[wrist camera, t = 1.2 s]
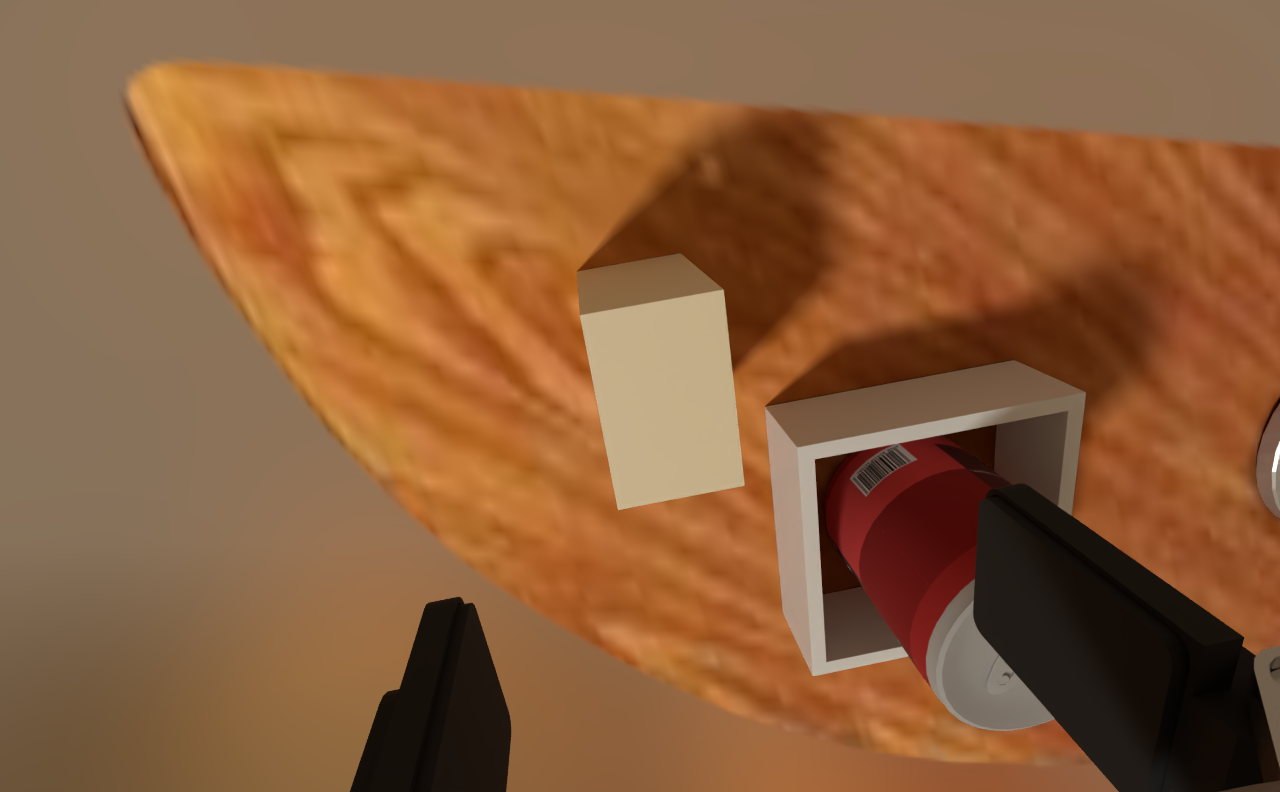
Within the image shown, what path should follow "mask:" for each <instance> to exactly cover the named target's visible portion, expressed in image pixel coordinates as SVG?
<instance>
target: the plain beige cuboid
mask: <svg viewBox="0 0 1280 792" xmlns="http://www.w3.org/2000/svg"><path fill="white" fill-rule="evenodd" d="M577 282H578V295H579V309H580V318H581V323H582V328H583V333H584V338H585V344H586V349H587V354H588V359H589V364H590V369H591V374H592V379H593V384H594V390H595V395H596V400H597V405H598V410H599V415H600V420H601V425H602V430H603V436H604V441H605V446H606V451H607V456H608V461H609V466H610V471H611V476H612V482H613V487H614V492H615V497H616V502H617V507H618V510H620V509H626V508H631V507H636V506H641V505H646V504H652V503H657V502H662V501H667V500H672V499H677V498H683V497H688V496H693V495H698V494H703V493H709V492H714V491H719V490H724V489H729V488H735V487H740V486H744V476H743V467H742V457H741V448H740V438H739V429H738V420H737V410H736V401H735V391H734V382H733V372H732V363H731V354H730V344H729V335H728V325H727V316H726V307H725V297H724V289H722V288H721V287H720V286H719V285H718V284H716V283H715V282H714V281H713V280H712V279H711V278H709V277H708V276H707V275H706V274H705V273H703V272H702V271H701V270H700V269H699V268H697V267H696V266H695V265H694V264H693V263H692V262H690V261H689V260H688V259H687V258H686V257H684V256H683V255H682V254H681V253H679V254H673V255H667V256H662V257H656V258H650V259H645V260H639V261H633V262H628V263H622V264H616V265H610V266H605V267H599V268H593V269H588V270H582V271H577Z"/></svg>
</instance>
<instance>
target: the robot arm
mask: <svg viewBox="0 0 1280 792" xmlns="http://www.w3.org/2000/svg"><path fill="white" fill-rule="evenodd" d="M1256 477H1257V484H1258V490H1259V493H1260V495H1261V497H1262V499H1263V502H1264V504H1265V505H1266V506H1267V507H1268V509H1269V510H1270V511H1271V512H1272V513H1273V514H1274V515H1275V516H1276V517H1278V518H1279V519H1280V403H1279V405H1278V406H1277V408H1276V409H1275V411H1274V412H1273V414H1272V416H1271V418H1270V420H1269V423H1268V425H1267V427H1266V429H1265V431H1264V433H1263V436H1262V440H1261V443H1260V447H1259V450H1258V454H1257V466H1256ZM973 618H974V622H975V624H976V627H977V629H978V631H979V632H980V634H981V635H982V636H983V637H984V639H985V640H986V641H987V642H988V643H989V644H990V645H991V646H992V648H993V649H994V650H995V651H996V652H997V653H998V654H999V656H1000V657H1001V658H1002V659H1003V660H1004V661H1005V662H1006V664H1007V665H1008V666H1009V667H1010V668H1011V669H1012V670H1013V672H1014V673H1015V674H1016V675H1017V676H1018V677H1019V678H1020V680H1021V681H1022V682H1023V683H1024V684H1025V685H1026V686H1027V688H1028V689H1029V690H1030V691H1031V692H1032V693H1033V694H1034V695H1035V697H1036V698H1037V699H1038V700H1039V701H1040V702H1041V703H1042V705H1043V706H1044V707H1045V708H1046V709H1047V710H1048V711H1049V713H1050V714H1051V715H1052V716H1053V717H1054V718H1055V719H1056V721H1057V722H1058V723H1059V724H1060V725H1061V726H1062V727H1063V729H1064V730H1065V731H1066V732H1067V733H1068V734H1069V735H1070V737H1071V738H1072V739H1073V740H1074V741H1075V742H1076V743H1077V744H1078V746H1079V747H1080V748H1081V749H1082V750H1083V751H1084V752H1085V754H1086V755H1087V756H1088V757H1089V758H1090V759H1091V760H1092V762H1093V763H1094V764H1095V765H1096V766H1097V767H1098V768H1099V770H1100V771H1101V772H1102V773H1103V774H1104V775H1105V776H1106V777H1107V778H1108V780H1109V781H1110V782H1111V783H1112V784H1113V785H1114V787H1115V788H1116V789H1117V790H1118V791H1119V792H1280V646H1274V647H1271V648H1268V649H1264V650H1262V651H1261V652H1260V653H1259V654H1258V655H1257V656H1255V655H1254V654H1253V653H1251V652H1250V651H1248V650H1247V649H1246V648H1244V647H1243V646H1242V644H1243V640H1244V637H1243V636H1242V635H1240V634H1239V633H1237V632H1236V631H1234V630H1233V629H1232V628H1230V627H1229V626H1227V625H1226V624H1225V623H1223V622H1222V621H1220V620H1219V619H1217V618H1216V617H1215V616H1213V615H1212V614H1210V613H1209V612H1207V611H1206V610H1205V609H1203V608H1202V607H1200V606H1199V605H1198V604H1196V603H1195V602H1193V601H1192V600H1190V599H1189V598H1188V597H1186V596H1185V595H1183V594H1182V593H1180V592H1179V591H1178V590H1176V589H1175V588H1173V587H1172V586H1171V585H1169V584H1168V583H1166V582H1165V581H1163V580H1162V579H1161V578H1159V577H1158V576H1156V575H1155V574H1153V573H1152V572H1151V571H1149V570H1148V569H1146V568H1145V567H1144V566H1142V565H1141V564H1139V563H1138V562H1136V561H1135V560H1134V559H1132V558H1131V557H1129V556H1128V555H1126V554H1125V553H1124V552H1122V551H1121V550H1119V549H1118V548H1117V547H1115V546H1114V545H1112V544H1111V543H1109V542H1108V541H1107V540H1105V539H1104V538H1102V537H1101V536H1099V535H1098V534H1097V533H1095V532H1094V531H1092V530H1091V529H1089V528H1088V527H1087V526H1085V525H1084V524H1082V523H1081V522H1080V521H1078V520H1077V519H1075V518H1074V517H1072V516H1071V515H1070V514H1068V513H1067V512H1065V511H1064V510H1062V509H1061V508H1060V507H1058V506H1057V505H1055V504H1054V503H1053V502H1051V501H1050V500H1048V499H1047V498H1045V497H1044V496H1043V495H1041V494H1040V493H1038V492H1037V491H1035V490H1034V489H1033V488H1031V487H1030V486H1028V485H1026V484H1023V483H1019V484H1014V485H1009V486H1004V487H999V488H994V489H991V490H989V491H988V493H987V494H986V498H985V499H982V500H981V501H980V503H979V512H978V530H977V548H976V567H975V585H974V603H973ZM510 741H511V721H510V715H509V711H508V708H507V705H506V702H505V698H504V695H503V692H502V689H501V686H500V683H499V680H498V677H497V673H496V670H495V667H494V664H493V661H492V658H491V654H490V651H489V648H488V645H487V642H486V639H485V636H484V632H483V629H482V626H481V623H480V620H479V617H478V614H477V611H476V608H475V605H474V604H473V603H468V604H464V602H463V600H462V598H461V597H455V598H450V599H445V600H440V601H435V602H430V603H428V604H426V606H425V608H424V611H423V615H422V618H421V621H420V625H419V628H418V631H417V634H416V638H415V641H414V644H413V647H412V651H411V654H410V657H409V660H408V663H407V667H406V670H405V673H404V676H403V680H402V683H401V686H400V689H398V690H393V691H388V692H387V693H386V694H385V695H384V696H383V697H382V700H381V702H380V704H379V707H378V710H377V713H376V716H375V719H374V722H373V725H372V728H371V730H370V733H369V736H368V739H367V742H366V745H365V749H364V751H363V754H362V757H361V760H360V763H359V766H358V769H357V772H356V775H355V778H354V781H353V784H352V787H351V790H350V792H506V786H507V776H508V765H509V764H508V763H509V753H510Z"/></svg>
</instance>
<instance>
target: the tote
mask: <svg viewBox="0 0 1280 792" xmlns="http://www.w3.org/2000/svg"><path fill="white" fill-rule="evenodd" d="M1085 398H1086V392H1084V391H1082V390H1080V389H1078V388H1075V387H1073V386H1071V385H1069V384H1067V383H1064V382H1062V381H1060V380H1058V379H1055V378H1053V377H1051V376H1049V375H1047V374H1044V373H1042V372H1040V371H1038V370H1035V369H1033V368H1031V367H1029V366H1027V365H1024V364H1022V363H1020V362H1018V361H1015V360H1012V361H1006V362H1001V363H996V364H990V365H985V366H980V367H974V368H969V369H964V370H958V371H953V372H948V373H942V374H937V375H932V376H926V377H921V378H916V379H910V380H905V381H900V382H894V383H889V384H884V385H878V386H873V387H868V388H862V389H857V390H852V391H846V392H841V393H836V394H830V395H825V396H820V397H814V398H809V399H804V400H798V401H793V402H788V403H782V404H777V405H772V406H766V407H765V414H766V425H767V437H768V448H769V460H770V471H771V482H772V494H773V505H774V517H775V528H776V540H777V551H778V562H779V574H780V585H781V597H782V608H783V614H784V616H785V618H786V620H787V623H788V625H789V627H790V629H791V631H792V633H793V635H794V637H795V639H796V642H797V644H798V646H799V648H800V650H801V652H802V654H803V656H804V659H805V661H806V663H807V665H808V667H809V669H810V671H811V673H812V675H813V676H816V675H821V674H826V673H831V672H836V671H841V670H845V669H850V668H855V667H860V666H865V665H869V664H874V663H879V662H884V661H889V660H893V659H898V658H903V657H908V654H907V653H906V652H905V650H904V649H903V647H902V646H901V644H900V643H899V641H898V640H897V638H896V637H895V635H894V634H893V632H892V631H891V629H890V628H889V626H888V625H887V623H886V622H885V620H884V619H883V618H882V616H881V615H880V613H879V612H878V610H877V609H876V607H875V606H874V604H873V603H872V601H871V600H870V598H869V597H868V595H867V594H866V592H865V591H864V589H863V588H862V587H857V588H853V589H848V590H843V591H838V592H833V593H828V594H823V595H822V578H821V560H820V543H819V525H818V508H817V491H816V473H815V459H820V458H825V457H830V456H835V455H840V454H846V453H851V452H856V451H861V450H866V449H872V448H877V447H882V446H887V445H893V444H898V443H903V442H908V441H913V440H919V439H924V438H929V437H934V436H939V435H945V434H950V433H955V432H960V431H965V430H971V429H976V428H981V427H986V426H991V425H997V426H996V442H995V458H994V472H996V473H997V474H999V475H1000V476H1001V477H1003V478H1004V479H1006V480H1007V481H1008V482H1010V483H1011V484H1012V485H1014V484H1019V483H1023V484H1026V485H1028V486H1030V487H1031V488H1033V489H1034V490H1035V491H1037V492H1038V493H1040V494H1041V495H1043V496H1044V497H1045V498H1047V499H1048V500H1050V501H1051V502H1053V503H1054V504H1055V505H1057V506H1058V507H1060V508H1061V509H1062V510H1064V511H1065V512H1067V513H1068V514H1070V515H1071V516H1072V507H1073V499H1074V491H1075V482H1076V474H1077V465H1078V457H1079V449H1080V440H1081V432H1082V423H1083V415H1084V407H1085Z"/></svg>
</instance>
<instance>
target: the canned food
mask: <svg viewBox="0 0 1280 792" xmlns="http://www.w3.org/2000/svg"><path fill="white" fill-rule="evenodd" d="M1009 485H1012V484H1011V483H1010V482H1008V481H1007V480H1006V479H1004V478H1003V477H1001V476H1000V475H999V474H997V473H996V472H994V471H993V470H992V469H990V468H989V467H988V466H986V465H985V464H983V463H982V462H981V461H979V460H978V459H977V458H975V457H974V456H972V455H971V454H970V453H968V452H967V451H966V450H964V449H963V448H961V447H960V446H959V445H957V444H956V443H954V442H953V441H951V440H949V439H948V438H946V437H944V436H941V435H939V436H934V437H929V438H924V439H919V440H913V441H908V442H903V443H898V444H893V445H887V446H882V447H877V448H872V449H866V450H861V451H856V452H852V453H851V454H850V455H849V456H847V457H846V458H845V459H844V461H843V462H842V463H841V465H840V466H839V467H838V469H837V470H836V471H835V473H834V475H833V477H832V479H831V481H830V483H829V485H828V489H827V492H826V495H825V503H824V513H825V521H826V527H827V532H828V534H829V537H830V540H831V542H832V544H833V545H834V547H835V548H836V550H837V551H838V552H839V554H840V555H841V557H842V558H843V560H844V561H845V563H846V564H847V566H848V567H849V569H850V570H851V572H852V573H853V575H854V576H855V578H856V579H857V581H858V582H859V584H860V585H861V586H862V588H863V589H864V591H865V592H866V594H867V595H868V597H869V598H870V600H871V601H872V603H873V604H874V606H875V607H876V609H877V610H878V612H879V613H880V615H881V616H882V618H883V619H884V620H885V622H886V623H887V625H888V626H889V628H890V629H891V631H892V632H893V634H894V635H895V637H896V638H897V640H898V641H899V643H900V644H901V646H902V647H903V649H904V650H905V652H906V653H907V654H908V656H909V657H910V659H911V660H912V662H913V663H914V665H915V666H916V668H917V669H918V671H919V672H920V674H921V675H922V676H923V678H924V679H925V680H926V682H927V683H928V684H929V686H930V687H931V689H932V690H933V692H934V693H935V694H936V696H937V697H938V699H939V700H940V701H941V702H942V703H943V704H945V706H946V707H947V709H948V710H949V712H951V713H952V714H953V715H954V716H956V717H957V718H958V719H959V720H960V721H963V722H965V723H967V724H969V725H971V726H974V727H977V728H982V729H987V730H1001V731H1009V730H1016V729H1024V728H1029V727H1032V726H1036V725H1039V724H1043V723H1046V722H1048V721H1051V720H1053V719H1055V718H1054V717H1053V716H1052V715H1051V714H1050V713H1049V711H1048V710H1047V709H1046V708H1045V707H1044V706H1043V705H1042V703H1041V702H1040V701H1039V700H1038V699H1037V698H1036V697H1035V695H1034V694H1033V693H1032V692H1031V691H1030V690H1029V689H1028V688H1027V686H1026V685H1025V684H1024V683H1023V682H1022V681H1021V680H1020V678H1019V677H1018V676H1017V675H1016V674H1015V673H1014V672H1013V670H1012V669H1011V668H1010V667H1009V666H1008V665H1007V664H1006V662H1005V661H1004V660H1003V659H1002V658H1001V657H1000V656H999V654H998V653H997V652H996V651H995V650H994V649H993V648H992V646H991V645H990V644H989V643H988V642H987V641H986V640H985V639H984V637H983V636H982V635H981V634H980V632H979V631H978V629H977V627H976V624H975V622H974V618H973V603H974V585H975V567H976V548H977V530H978V512H979V503H980V501H981V500H982V499H985V498H986V494H987V493H988V491H989V490H991V489H994V488H999V487H1004V486H1009Z"/></svg>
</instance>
